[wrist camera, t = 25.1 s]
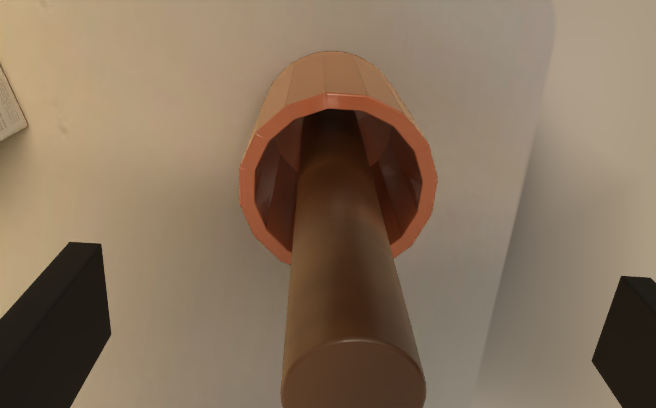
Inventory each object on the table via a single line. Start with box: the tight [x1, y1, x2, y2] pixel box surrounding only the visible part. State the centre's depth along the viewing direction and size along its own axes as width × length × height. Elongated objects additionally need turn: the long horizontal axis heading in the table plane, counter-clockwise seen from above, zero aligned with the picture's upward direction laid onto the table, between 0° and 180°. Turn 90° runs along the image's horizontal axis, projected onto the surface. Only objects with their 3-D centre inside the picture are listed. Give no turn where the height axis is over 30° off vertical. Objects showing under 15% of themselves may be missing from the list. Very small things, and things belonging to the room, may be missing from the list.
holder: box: [239, 51, 438, 265], centre depth 25 cm, size 8×8×10 cm
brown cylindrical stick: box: [281, 109, 426, 408], centre depth 20 cm, size 3×3×20 cm
